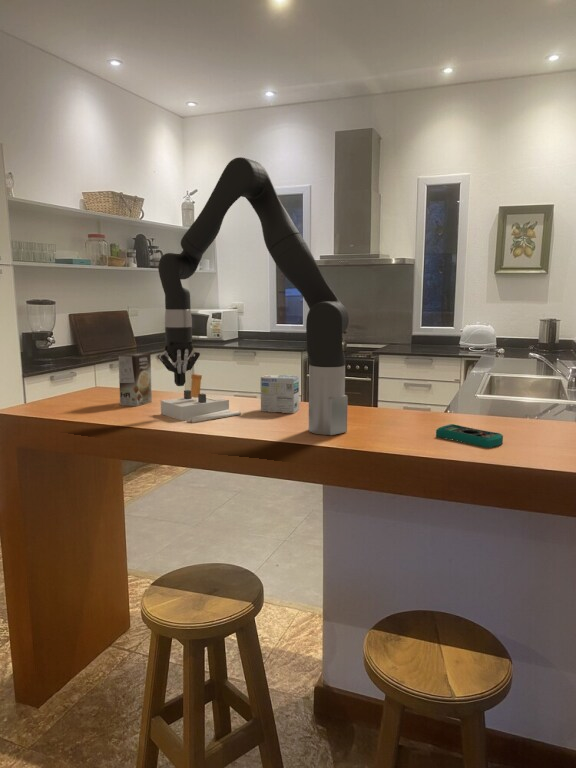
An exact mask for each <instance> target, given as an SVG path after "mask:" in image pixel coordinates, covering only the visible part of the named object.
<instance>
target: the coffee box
mask: <svg viewBox="0 0 576 768" xmlns="http://www.w3.org/2000/svg"><path fill="white" fill-rule="evenodd" d="M151 361H152V360H151V353H144V352H143V353H142V352H139V353H137V352H133V353H126V354H119V355H118V378H119V379H118V380H119V381H118V382H119V383H118V384H119V405H120V406H123V407H124V406H128V407H139V406H142V405H146V404H148V403H152V402H153V396H152V366H151V365H152V362H151Z"/></svg>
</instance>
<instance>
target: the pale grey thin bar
mask: <svg viewBox="0 0 576 768" xmlns="http://www.w3.org/2000/svg"><path fill="white" fill-rule="evenodd" d="M229 412H231V410H230V408H229V409H228V410H223V411H219V412H214V413H209V414H205V415H200V416H195V417H191V418H187V419H186V420H185V421H186V422H187V423H191V422H192V418H198V417H204V416H210V415H217V414H223V413H229ZM192 423H193V422H192Z"/></svg>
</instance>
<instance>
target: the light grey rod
mask: <svg viewBox="0 0 576 768" xmlns="http://www.w3.org/2000/svg"><path fill="white" fill-rule="evenodd" d="M241 415H242V412H241V410H237V411H230V412H229V413H223V414H217V415H210V416H204V417H198V418H192V423H194V424H195V423H201V422H205V421H211V420H216V419H217V420H218V419H223V418H230V417H235V416H241Z"/></svg>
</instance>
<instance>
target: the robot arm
mask: <svg viewBox="0 0 576 768" xmlns="http://www.w3.org/2000/svg"><path fill="white" fill-rule="evenodd" d="M241 197H242V198H246V199H247V201H248V202H249V204H250V205H251V208H253V210H254V212H255V214H256V215H257V217H258V219H259V220H260V224H261V230H262V236H263V240H264V244H265V246H266V249H267V251H268V253H269V255H270V256H271V258H272V260H273V261H274V263H275V265H276V267H277V268H278V269H279V271H280V272H281V273H282V274H283V276H284V277H285V278H286V279H287V280H288V281H289V282H290V284H291V285H292V286H294V287H295V288H296V290H297V291H298V292H299V294H301V296H302V297H303V299H304V301H305V303H306V304H307V306H308V308H309V310H308V312H307V316H306V323H305V324H306V325H305V328H306V329H305V333H306V334H305V335H306V339H305V340H306V353H307V357H308V432H310V433H312V434H314V435H315V434H316V435H323V436H324V435H326V436H335V435H338V434H343V433H344V434H345V433H347V432H348V401H349V399H348V398H349V397H348V395H347V394H345V393H346V354H345V353H344V349H343V334H344V333H345V332H346V330H347V329H348V327H349V324H350V323H349V322H350V319H349V313H348V311H347V309H346V307H345V306H344V304H343V303H342V302H341V300H340V299H339V297H337V295H336V294H335V292H334V290H333V289H332V288H331V287H330V285H329V283H328V282H327V280H326V279H325V277H324V275H323V273H322V271H321V268H320V267H319V265H318V263H317V261H316V259H315V257H314V256H313V254H312V252H311V251H310V248H309V246H308V244H307V242H306V241H305V239H304V238H303V236H302V234H301V233H300V231H299V229H298V227H296V225H295V223H294V221H293V219H292V218H291V217H290V214H289V213H288V211H287V210H286V208H285V207H284V205H283V204H282V201H281V200H280V198H279V196H278V193H277V191H276V188H275V187H274V184H273V182H272V180H271V178H270V175H269V173H268V172H267V169H266V168H265V167H264V166H263V165H262V164H261V163H260V162H257V161H256V160H252V159H249V158H245V157H241V156H240V157H236V158H233V159H231V160H230V161H229V162H228V163H227V164H226V166H225V167H224V170H223V171H222V173H221V175H220V177H219V178H218V181H217V182H216V185H215V186H214V188H213V190H212V192H211V193H210V196H209V197H208V200H207V202H206V203H205V204H204V206H203V208H202V209H201V212H200V213H199V214H198V216H197V217H196V218H195V220H194V222H193V223H192V224H191V225H190V227H189V228H188V230H187V231H186V232H185V234H184V235H183V236H182V238H181V239H180V246H181V249H182V251H181V252H180V253H173V252H167V253H165V254H163V255H162V256H161V257H160V259H159V262H158V275H159V279H160V283H161V286H162V289H163V293H164V305H165V307H164V308H165V312H164V334H165V343H166V344H165V346H164V351H163V352H162V353H161V354H158V355H157V358H158V360H159V361H160V362H161V363H162V365H164V367H165V369H167V370H168V371H169V372H171V373H173V376H174V377H173V378H174V379H173V380H174V384H175V385H176V387H183V386H184V387H185V384H186V373H187V372H188V371H191V370H192V369H193V367H194V365H195V364H196V362H197V361H198V359H199V358H200V356H201V353H200V352H198V351H196V350H195V349H194V346H193V344H192V343H193V320H192V319H193V317H192V312H191V306H192V305H191V292H190V291H189V289H187V288H185V287H184V286H183V285H182V280H186V279H187V280H188V279H190V277H192V276H193V274H195V272H196V271H197V269H198V267H199V264H200V262H201V260H202V258H203V255H204V253H205V252H206V251H207V250H208V249H209V247H211V245H212V243H213V242H214V241H215V239H216V237H217V236H218V234H219V233H220V230H221V228H222V224H223V221H224V220H225V219H224V218H225V216H226V214H227V213H228V211H229V210H230V208H231V207H232V206H233V204H234V203H236V202H237V201H238V199H240V198H241ZM169 359H170V360H171V361H170V360H169Z"/></svg>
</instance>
